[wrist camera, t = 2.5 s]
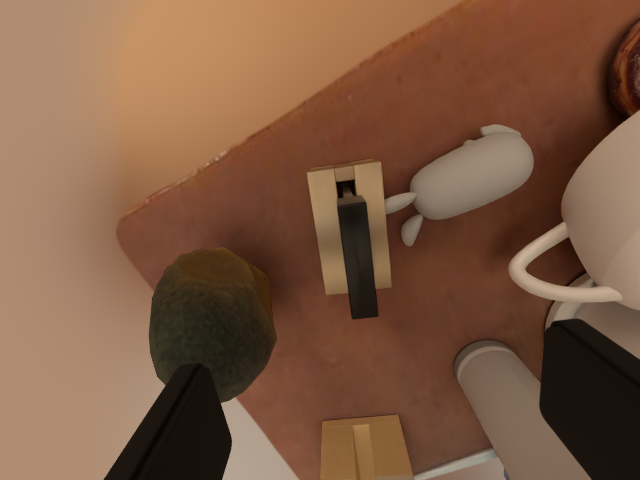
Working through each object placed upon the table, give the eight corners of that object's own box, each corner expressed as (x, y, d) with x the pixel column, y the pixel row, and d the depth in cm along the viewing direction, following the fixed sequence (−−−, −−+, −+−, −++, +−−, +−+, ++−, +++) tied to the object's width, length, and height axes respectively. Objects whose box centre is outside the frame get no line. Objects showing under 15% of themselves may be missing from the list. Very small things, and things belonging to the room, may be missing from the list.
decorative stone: (305, 290, 30) (281, 425, 15) (255, 318, 31) (189, 468, 17) (247, 208, 27) (156, 276, 13) (196, 241, 29) (60, 337, 14)
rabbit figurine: (516, 98, 21) (358, 179, 25) (559, 156, 19) (378, 234, 23) (508, 146, 26) (379, 206, 30) (541, 195, 24) (398, 253, 28)
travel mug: (450, 391, 33) (616, 736, 14) (455, 339, 31) (657, 656, 12) (509, 390, 32) (764, 742, 13) (518, 337, 30) (832, 661, 11)
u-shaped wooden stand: (398, 414, 34) (414, 481, 27) (403, 472, 37) (420, 546, 30) (322, 420, 35) (320, 487, 28) (332, 477, 37) (333, 551, 30)
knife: (334, 182, 26) (336, 205, 16) (352, 179, 26) (366, 201, 16) (344, 256, 29) (352, 320, 18) (361, 254, 28) (378, 317, 18)
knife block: (310, 168, 26) (306, 172, 22) (373, 158, 26) (381, 161, 21) (326, 273, 29) (326, 295, 25) (383, 266, 29) (392, 287, 24)
